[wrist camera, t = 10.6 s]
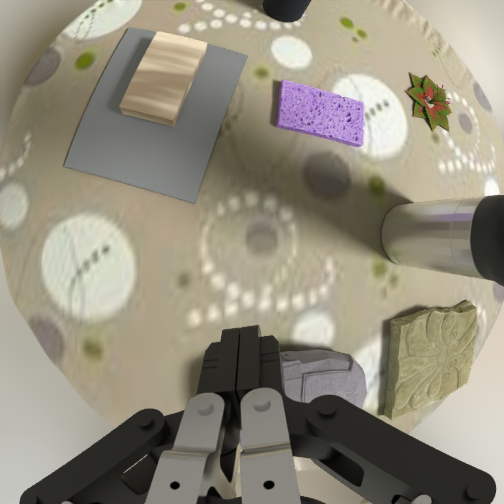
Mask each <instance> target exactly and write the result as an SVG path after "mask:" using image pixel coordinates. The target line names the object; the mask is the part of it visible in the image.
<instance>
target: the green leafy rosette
mask: <svg viewBox="0 0 504 504" xmlns="http://www.w3.org/2000/svg"><path fill="white" fill-rule="evenodd" d="M410 74H411V78H412V81H413V84H414V88H412V89H410V90H409V91H406V92H407V93H408V94H410V95H411V96H412V97H413V98H414V99H416V100H417V101H416V103H415V109H414V115H413V117H420V118H429V120H430V124H431V127H432V132H433V130H434V129H435V128H436V126H438V125H439V124H440V125H441V126H442V127H444V128H445V129H447V130H448V131H449V126H448V119H447V117H446V115H449V114H450V113H452V112H451V110H450V108H449V106H448V104H450V103H448V102H447V101H445V100H446V99H449V98H446V95H445V90H444V89H441V88H439V87H438V85H437V87H436V85H435V84H434V82H433V81H432V80H431V79H429V77H428V76H426V78H425V81H424V82H423V80H422V79H420V78H419V77H417V76H415V75H412V73H410ZM421 88H422V89H421ZM442 88H443V85H442ZM423 90H424V91H423ZM446 94H447V93H446ZM428 96H429V97H430V98H431V100H430V101H429V102H430V104H434V106H433V107H432V108H431V109H430V108H429V106H428V105H427V103H426V102H425V99H426V98H427V97H428ZM433 102H434V103H433ZM447 103H448V104H447ZM422 106H425V109H426V110H421V107H422Z"/></svg>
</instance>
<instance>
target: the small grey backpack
mask: <svg viewBox="0 0 504 504" xmlns="http://www.w3.org/2000/svg"><path fill="white" fill-rule="evenodd" d="M280 353H281V359H282V365H283V373H284V384H285V394H286V396H287V397H289V398H290V399H292V400H294V401H298V402H305V403H310V402H311V401H312V400H313V399H314V398H316V397H319V396H322V395H328V394H330V395H337V396H340V397H342V398H343V399H345V400H347V401H349V402H350V403H352V404H354V405H355V406H357V407H359V408H361V409H362V406H363V403H364V400H365V397H366V394H367V391H366V381H365V374H364V371H363V369H362V368H361V366H360V365H359V364H358V363H357V362H356V361H355V360H354V358H353V357H352V356H351V355H349V354H345V353H340V352H335V351H328V350H321V349H316V350H306V351H295V352H293V351H285V352H280ZM239 441H240V443H241V448H242V449H243V441H242V430H240V440H239Z"/></svg>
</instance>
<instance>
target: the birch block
mask: <svg viewBox="0 0 504 504" xmlns="http://www.w3.org/2000/svg"><path fill="white" fill-rule="evenodd" d="M206 50H207V42H203V41H200V40H196V39H191V38H187V37H183V36H179V35H174V34H169V33H164V32H159V31H157V33H156V35H155V36H154V38H153V40H152V42H151V44H150V45H149V47H148V49H147V51H146V53H145V55H144V56H143V58H142V60H141V62H140V64H139V66H138V68H137V70H136V72H135V74H134V76H133V78H132V80H131V82H130V84H129V86H128V88H127V91H126V93H125V95H124V97H123V99H122V102H121V104H120V106H119V108H120V110H121V112H122V113H123V114H124V115H129V116H133V117H137V118H141V119H145V120H149V121H153V122H156V123H160V124H164V125H168V126H171V127H174V125H175V123H176V120H177V118H178V115H179V113H180V110H181V108H182V106H183V103H184V101H185V98H186V96H187V94H188V91H189V89H190V87H191V84H192V82H193V80H194V77H195V75H196V73H197V71H198V69H199V66H200V64H201V62H202V60H203V58H204V56H205V54H206Z"/></svg>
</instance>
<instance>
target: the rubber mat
mask: <svg viewBox="0 0 504 504" xmlns="http://www.w3.org/2000/svg"><path fill="white" fill-rule="evenodd" d="M156 33H157V32H154V31H148V30H143V29H136V28H130V27H129V28H128V30H127V32H126V33H125V35H124V37H123V38H122V40H121V42H120V44H119V45H118V47H117V49H116V51H115V52H114V54H113V56H112V58H111V60H110V61H109V63H108V65H107V67H106V69H105V71H104V73H103V75H102V77H101V79H100V81H99V83H98V85H97V87H96V89H95V91H94V93H93V95H92V97H91V100H90V102H89V104H88V106H87V109H86V111H85V113H84V115H83V118H82V120H81V123H80V125H79V127H78V130H77V132H76V135H75V137H74V140H73V143H72V145H71V148H70V151H69V153H68V156H67V159H66V162H65V165H64V167H67V168H71V169H75V170H79V171H82V172H86V173H90V174H93V175H97V176H100V177H104V178H108V179H111V180H115V181H118V182H122V183H125V184H129V185H132V186H136V187H139V188H143V189H146V190H150V191H153V192H157V193H160V194H163V195H167V196H170V197H174V198H177V199H180V200H184V201H187V202H190V203H194V204H195V201H196V198H197V195H198V192H199V189H200V186H201V182H202V179H203V176H204V173H205V170H206V167H207V164H208V161H209V158H210V156H211V153H212V150H213V147H214V144H215V141H216V138H217V136H218V133H219V130H220V127H221V124H222V122H223V119H224V116H225V113H226V111H227V108H228V105H229V103H230V100H231V97H232V95H233V92H234V90H235V87H236V84H237V82H238V79H239V77H240V74H241V72H242V69H243V67H244V64H245V62H246V59H247V57H248V56H247V55H244V54H241V53H238V52H235V51H232V50H228V49H225V48H221V47H218V46H214V45H211V44H207V50H206V54H205V56H204V58H203V60H202V62H201V64H200V66H199V69H198V71H197V73H196V75H195V77H194V80H193V82H192V84H191V87H190V89H189V91H188V94H187V96H186V98H185V101H184V103H183V106H182V108H181V110H180V113H179V115H178V118H177V120H176V123H175V125H174V127H171V126H168V125H164V124H160V123H156V122H153V121H149V120H145V119H141V118H137V117H133V116H129V115H124V114H123V113H122V112H121V110H120V108H119V106H120V104H121V102H122V99H123V97H124V95H125V93H126V91H127V88H128V86H129V84H130V82H131V80H132V78H133V76H134V74H135V72H136V70H137V68H138V66H139V64H140V62H141V60H142V58H143V56H144V55H145V53H146V51H147V49H148V47H149V45H150V44H151V42H152V40H153V38H154V36H155V35H156Z"/></svg>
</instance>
